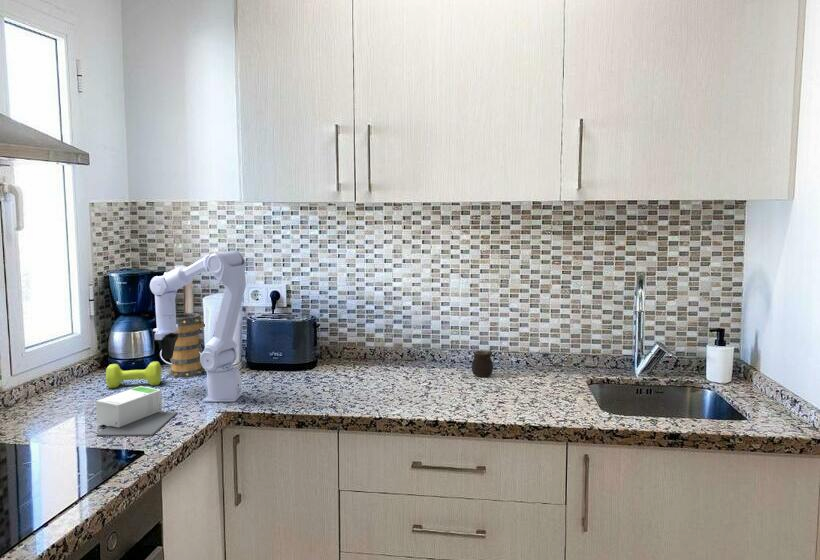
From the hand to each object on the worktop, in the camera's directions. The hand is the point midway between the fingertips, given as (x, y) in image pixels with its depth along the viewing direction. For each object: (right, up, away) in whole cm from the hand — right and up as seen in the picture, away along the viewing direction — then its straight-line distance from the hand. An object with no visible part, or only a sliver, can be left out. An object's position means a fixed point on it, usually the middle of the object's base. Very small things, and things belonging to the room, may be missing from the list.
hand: (168, 358), depth 212 cm
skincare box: (+2, -9, -18) cm, 21 cm away
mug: (0, -8, +23) cm, 24 cm away
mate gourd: (+98, -8, +15) cm, 100 cm away
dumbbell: (-14, -10, +9) cm, 19 cm away
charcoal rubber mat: (+3, -14, -29) cm, 33 cm away
